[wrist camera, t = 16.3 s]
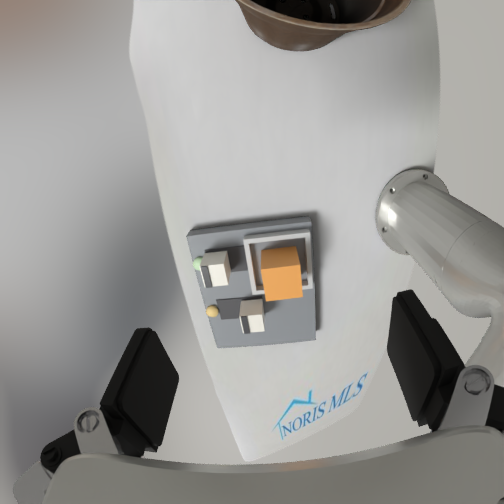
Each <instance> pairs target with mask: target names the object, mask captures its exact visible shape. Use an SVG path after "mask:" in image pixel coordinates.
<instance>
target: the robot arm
mask: <svg viewBox="0 0 504 504" xmlns="http://www.w3.org/2000/svg"><path fill="white" fill-rule="evenodd" d="M423 175H424V176H423ZM391 188H392V189H391ZM390 189H391V191H390ZM376 226H377V230H378V232H379V235H380V237H381V238H382V240H383V241H384V243H385V244H386V245H387V246H388V247H389V248H390V249H392V250H393V251H395V252H397V253H399V254H403V255H411V257H412V258H413V259H414V260H415V261H416V262H417V263H418V265H419V266H420V267H421V268H422V269H423V270H424V271H425V273H426V274H427V275H428V276H429V278H430V279H431V280H432V281H433V282H434V284H435V285H436V286H437V287H438V288H439V290H440V291H441V292H442V293H443V295H444V296H445V297H446V299H447V300H448V301H449V302H450V304H451V305H452V306H453V307H454V308H455V309H456V310H457V311H458V312H460V313H462V314H464V315H466V316H469V317H475V318H485V317H492V319H491V323H490V326H489V328H488V330H487V331H486V333H485V335H484V336H483V338H482V340H481V342H480V344H479V345H478V347H477V348H476V350H475V351H474V353H473V354H472V356H471V357H470V359H469V360H468V361H467V363H466V364H465V365H464V363H463V361H462V360H461V358H460V356H459V355H458V353H457V351H456V350H455V348H454V346H453V345H452V343H451V342H450V340H449V338H448V337H447V335H446V334H445V332H444V330H443V329H442V327H441V326H440V324H439V323H438V321H437V320H436V319H434V318H431V317H430V315H429V314H428V312H427V311H426V309H425V308H424V306H423V305H422V303H421V302H420V300H419V299H418V297H417V296H416V294H415V293H414V291H413V290H406V291H402V292H398V293H397V296H396V297H393V301H392V312H391V321H390V329H389V337H388V344H387V352H388V356H389V358H390V361H391V363H392V366H393V368H394V371H395V373H396V376H397V379H398V381H399V384H400V386H401V389H402V391H403V395H404V397H405V400H406V403H407V406H408V409H409V411H410V414H411V417H412V419H413V421H416V420H417V422H418V425H419V427H420V426H423V425H426V424H428V426H429V428H430V429H431V432H430V433H428V434H425V435H421V436H417V437H414V438H411V439H408V440H404V441H400V442H397V443H393V444H389V445H385V446H381V447H377V448H373V449H369V450H364V451H360V452H355V453H350V454H345V455H340V456H334V457H328V458H321V459H314V460H306V461H297V462H287V463H274V464H254V465H216V464H215V465H214V464H194V463H181V462H171V461H162V460H154V459H146V458H145V457H144V451H150V452H157V449H158V446H160V445H161V444H162V441H163V437H164V434H165V430H166V426H167V422H168V418H169V414H170V411H171V407H172V403H173V400H174V396H175V393H176V389H177V385H178V382H179V375H178V373H177V371H176V369H175V368H174V366H173V364H172V362H171V360H170V358H169V357H168V355H167V353H166V351H165V349H164V347H163V345H162V343H161V341H160V339H159V337H158V335H157V333H156V332H155V331H152V329H151V328H138V329H136V330H135V332H134V334H133V336H132V338H131V339H130V341H129V343H128V345H127V347H126V350H125V351H124V354H123V355H122V357H121V360H120V362H119V363H118V366H117V368H116V370H115V372H114V374H113V376H112V378H111V380H110V382H109V384H108V387H107V389H106V391H105V393H104V395H103V397H102V400H101V402H100V405H101V407H100V409H98V408H95V407H89V408H86V409H84V410H82V411H81V412H80V413H79V414H78V415H77V416H76V418H75V420H74V430H72V431H71V432H69V433H68V434H65V435H64V436H62V437H60V438H58V439H56V440H55V441H53V442H51V443H49V444H48V445H46V446H45V447H44V449H43V450H42V453H41V457H40V458H41V462H39V461H36V462H35V463H34V464H33V465H32V466H31V467H30V468H29V469H28V470H27V471H26V472H25V473H24V474H23V475H22V476H21V477H20V478H19V479H18V480H17V481H16V482H15V483H14V487H13V493H14V496H15V498H16V500H17V502H18V504H504V228H503V227H502V226H500V225H499V224H497V223H496V222H494V221H492V220H491V219H489V218H488V217H486V216H485V215H483V214H482V213H480V212H478V211H477V210H475V209H473V208H472V207H470V206H468V205H467V204H465V203H463V202H462V201H460V200H458V199H456V198H455V197H453V196H451V195H449V192H448V189H447V187H446V186H445V184H444V183H443V181H442V180H441V179H440V178H439V177H438V176H436V175H434V174H433V173H431V172H428V171H426V170H421V169H411V170H407V171H404V172H402V173H400V174H398V175H397V176H395V177H394V178H393V179H392V180H391V181H390V182H389V183H388V184H387V185H386V187H385V188H384V190H383V191H382V193H381V195H380V197H379V200H378V203H377V208H376ZM383 227H384V228H383ZM382 228H383V229H382Z"/></svg>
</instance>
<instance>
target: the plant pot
mask: <svg viewBox="0 0 504 504" xmlns="http://www.w3.org/2000/svg"><path fill="white" fill-rule="evenodd" d="M236 2H237V3H238V4H239V6H240V8H241V10H242V12H243V14H244V17H245V19H246V22H247V24H248V25H249V27H250V28H251V30H252V31H253V32H254V33H255V34H256V35H257V36H258V37H260V38H261V39H262V40H264V41H265V42H267V43H268V44H270V45H272V46H274V47H277V48H280V49H284V50H290V51H309V50H314V49H318V48H321V47H323V46H325V45H327V44H328V43H330V42H331V41H333V40H334V39H336V38H338V37H339V36H341V35H343V34H345V33H348V32H352V31H355V30H362V29H367V28H372V27H375V26H378V25H381V24H384V23H386V22H388V21H390V20H392V19H394V18H396V17H397V16H398V15H400V14H401V13H402V12H403V11H404V10H405V9H406V8H407V6H408V5H409V3H410V2H411V0H306V2H305V3H302V2H301V0H286V1H285V3H281V2H280V0H236ZM330 3H331V4H332V5H333V7H334V10H335V15H336V19H332V17H331V15H332V14H331V11H330V6H329V4H330ZM286 15H287V16H286ZM304 15H308V16H309V18H308V19H304Z"/></svg>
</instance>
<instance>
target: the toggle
mask: <svg viewBox="0 0 504 504" xmlns="http://www.w3.org/2000/svg"><path fill="white" fill-rule="evenodd" d="M199 268H200V271H201V275H202V279H203V283H204V287H206V288H212V287H214V286H225V285H228V283H229V278H230V273H231V268H230V263H229V258H228V253H227V251H220V252H211V253H204V256H203V258H202V261H201V263H200V266H199Z"/></svg>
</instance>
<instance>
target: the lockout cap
mask: <svg viewBox="0 0 504 504" xmlns="http://www.w3.org/2000/svg"><path fill="white" fill-rule="evenodd" d="M261 274H262V280H263V286H264V292H265V299H266V301H274V300H283V299H291V298H299V297H303V292H302V280H301V268H300V262H299V257H298V253H297V248H296V246H291V247H283V248H275V249H267V250H261Z"/></svg>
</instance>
